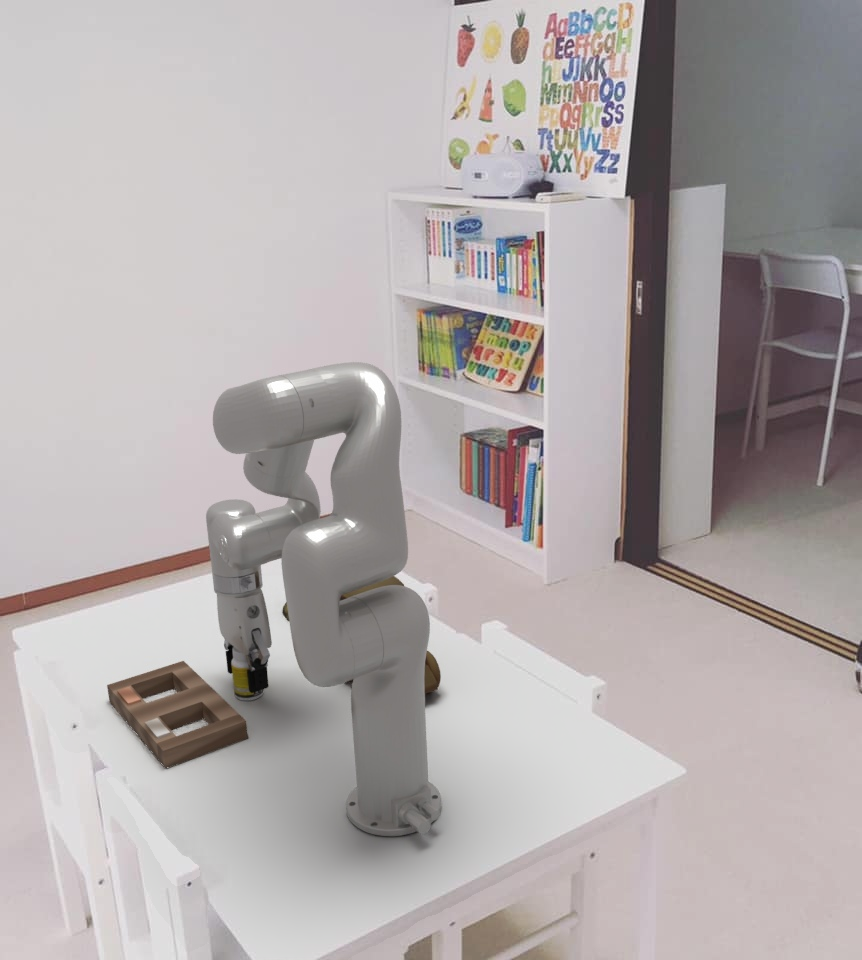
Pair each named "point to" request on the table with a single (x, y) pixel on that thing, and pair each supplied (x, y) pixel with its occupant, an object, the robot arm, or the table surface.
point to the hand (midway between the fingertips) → (247, 679)
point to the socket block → (177, 713)
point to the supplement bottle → (242, 676)
